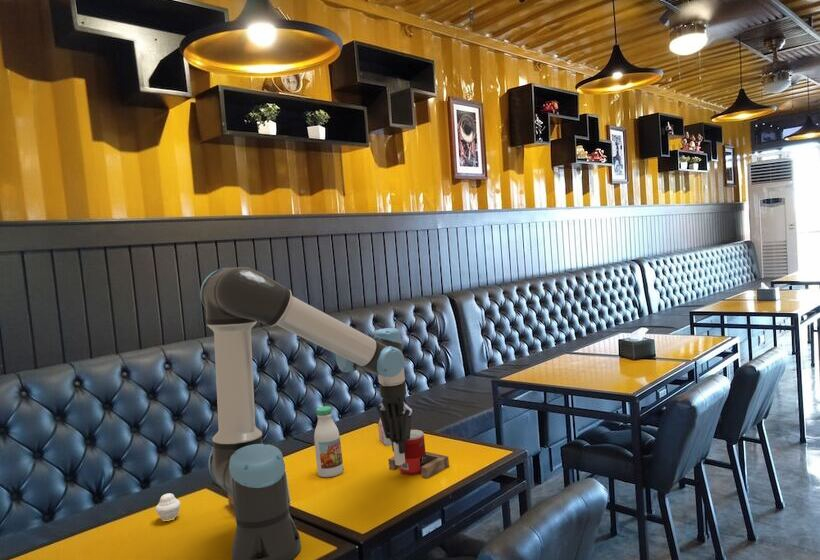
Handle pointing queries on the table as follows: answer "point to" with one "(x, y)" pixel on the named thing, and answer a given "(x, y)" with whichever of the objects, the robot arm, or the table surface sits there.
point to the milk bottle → (327, 444)
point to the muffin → (168, 507)
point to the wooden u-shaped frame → (432, 467)
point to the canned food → (414, 453)
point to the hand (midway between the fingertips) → (400, 463)
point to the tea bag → (383, 435)
